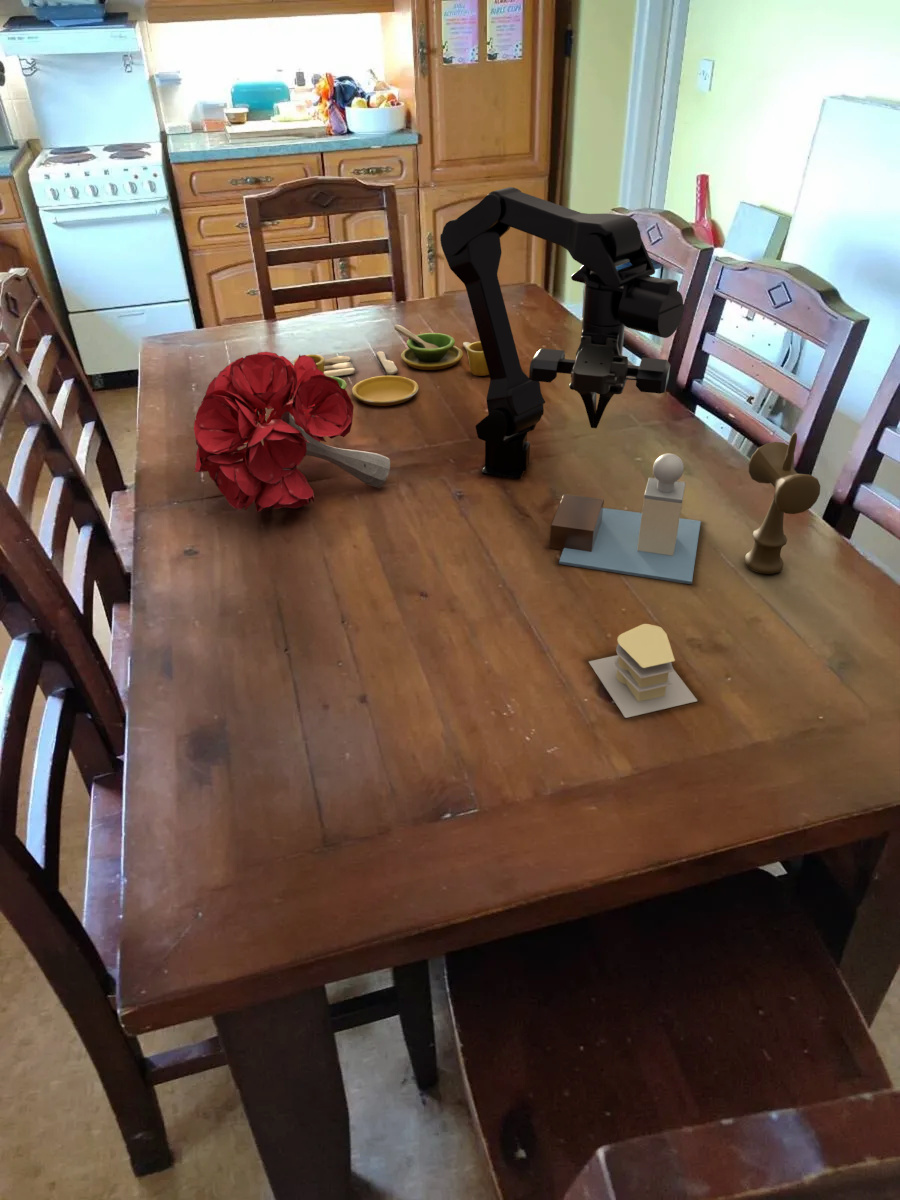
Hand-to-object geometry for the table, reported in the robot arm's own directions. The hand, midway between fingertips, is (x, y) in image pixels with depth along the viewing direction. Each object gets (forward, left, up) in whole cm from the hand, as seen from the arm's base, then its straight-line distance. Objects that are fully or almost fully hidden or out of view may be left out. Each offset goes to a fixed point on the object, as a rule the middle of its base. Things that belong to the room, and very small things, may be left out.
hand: (594, 427), depth 124 cm
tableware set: (-46, +39, -13) cm, 62 cm away
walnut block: (0, -9, -13) cm, 16 cm away
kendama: (+26, -10, -13) cm, 31 cm away
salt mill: (+7, -9, -9) cm, 14 cm away
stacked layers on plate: (+13, -38, -13) cm, 42 cm away
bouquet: (-44, -10, -13) cm, 47 cm away
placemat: (+8, -9, -13) cm, 18 cm away
